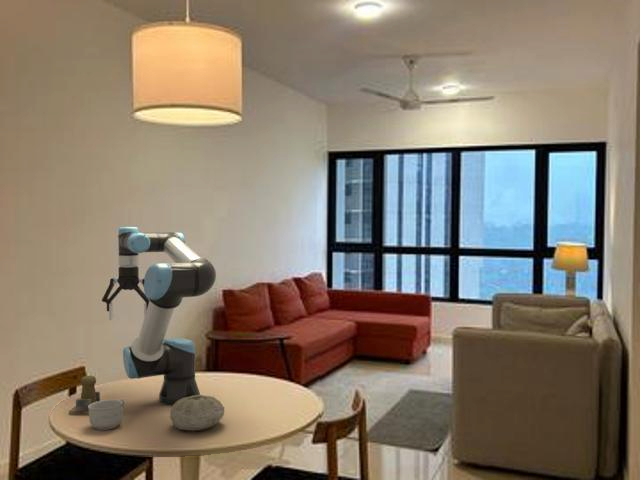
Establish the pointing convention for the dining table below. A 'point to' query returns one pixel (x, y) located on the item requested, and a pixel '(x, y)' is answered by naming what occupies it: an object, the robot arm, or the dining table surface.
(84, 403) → the stand
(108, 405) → the teacup
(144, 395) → the dining table surface
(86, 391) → the cork
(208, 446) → the dining table surface
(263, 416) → the dining table surface
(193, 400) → the grey stone
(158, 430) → the dining table surface
